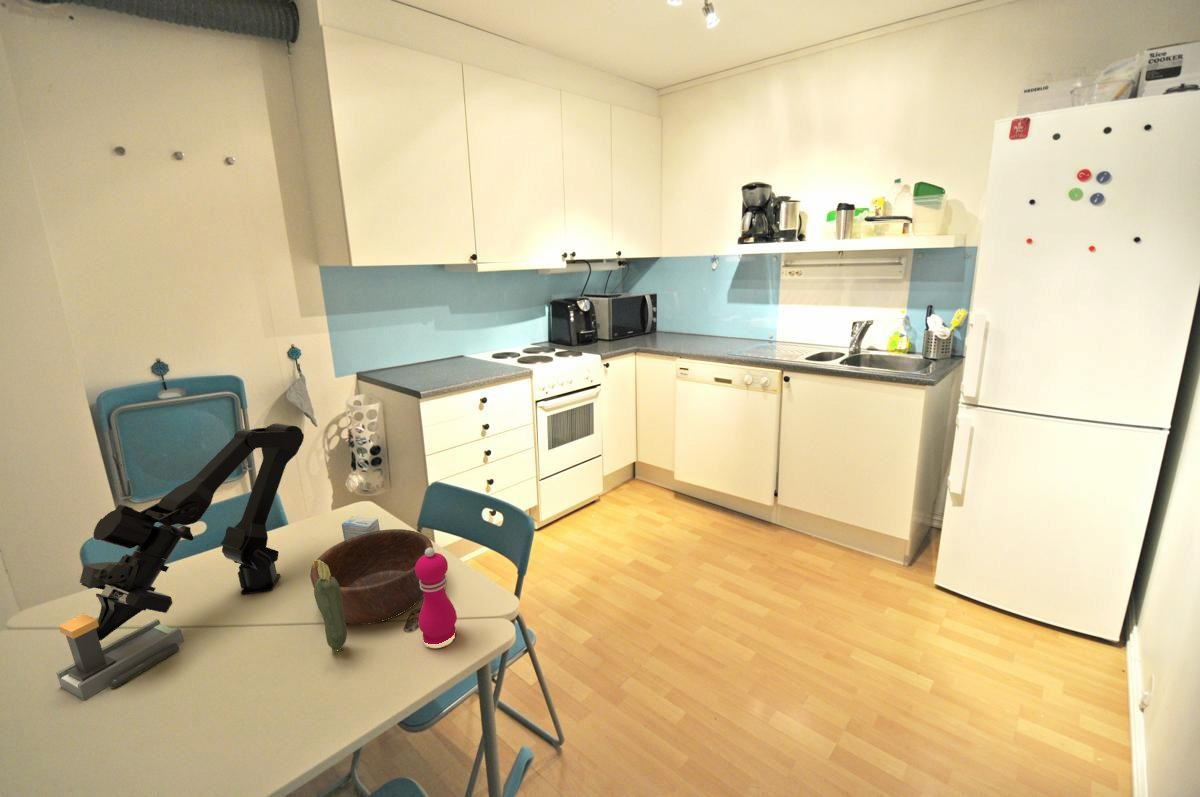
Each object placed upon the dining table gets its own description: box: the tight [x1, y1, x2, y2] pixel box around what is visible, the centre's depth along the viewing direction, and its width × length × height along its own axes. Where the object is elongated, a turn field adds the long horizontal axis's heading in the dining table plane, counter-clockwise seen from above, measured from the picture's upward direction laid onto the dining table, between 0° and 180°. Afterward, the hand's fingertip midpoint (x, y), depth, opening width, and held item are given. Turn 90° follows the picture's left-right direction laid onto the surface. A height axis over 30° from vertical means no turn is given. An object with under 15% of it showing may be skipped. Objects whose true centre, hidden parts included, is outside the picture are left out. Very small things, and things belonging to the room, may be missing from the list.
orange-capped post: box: [58, 613, 116, 682], centre depth 97 cm, size 5×5×10 cm
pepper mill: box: [415, 547, 458, 644], centre depth 105 cm, size 7×7×20 cm
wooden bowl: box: [310, 528, 434, 625], centre depth 120 cm, size 25×25×10 cm
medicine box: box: [341, 515, 381, 541], centre depth 140 cm, size 8×4×9 cm, turn 77°
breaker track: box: [56, 618, 185, 701], centre depth 103 cm, size 16×13×3 cm
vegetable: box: [312, 559, 348, 652], centre depth 102 cm, size 4×4×20 cm
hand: (97, 639), depth 99 cm, fingers closed, pressing on orange-capped post
